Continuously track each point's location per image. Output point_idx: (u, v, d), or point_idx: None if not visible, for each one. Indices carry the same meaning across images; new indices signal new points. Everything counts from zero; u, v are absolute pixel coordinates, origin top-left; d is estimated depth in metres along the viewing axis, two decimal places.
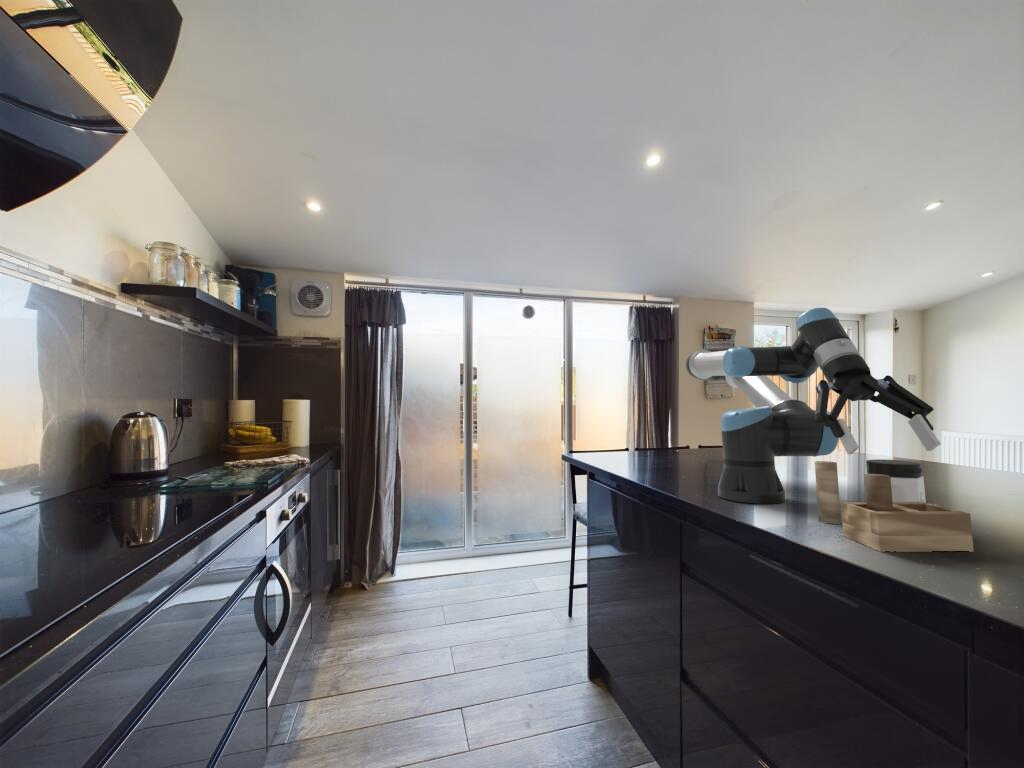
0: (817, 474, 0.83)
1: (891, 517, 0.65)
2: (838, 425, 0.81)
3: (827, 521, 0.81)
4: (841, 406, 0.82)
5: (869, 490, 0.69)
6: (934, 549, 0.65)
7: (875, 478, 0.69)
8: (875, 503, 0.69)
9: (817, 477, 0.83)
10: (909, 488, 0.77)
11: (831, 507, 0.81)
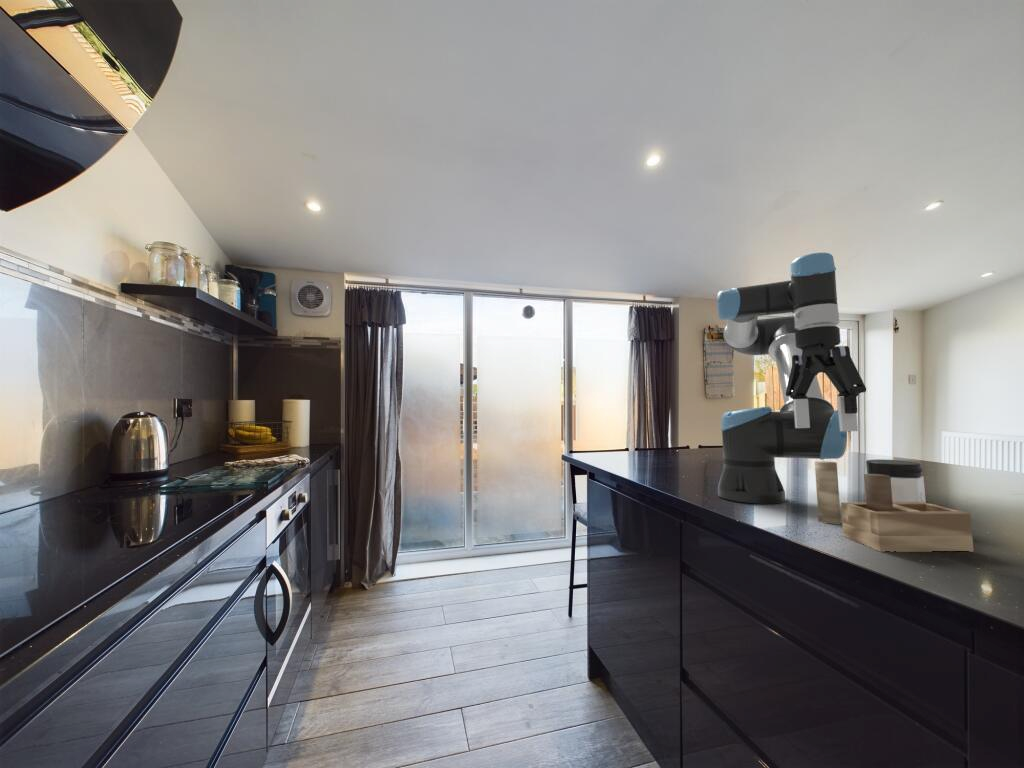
0: (817, 474, 0.83)
1: (891, 517, 0.65)
2: None
3: (827, 521, 0.81)
4: (797, 385, 0.90)
5: (869, 490, 0.69)
6: (934, 549, 0.65)
7: (875, 478, 0.69)
8: (875, 503, 0.69)
9: (817, 477, 0.83)
10: (909, 488, 0.77)
11: (831, 507, 0.81)
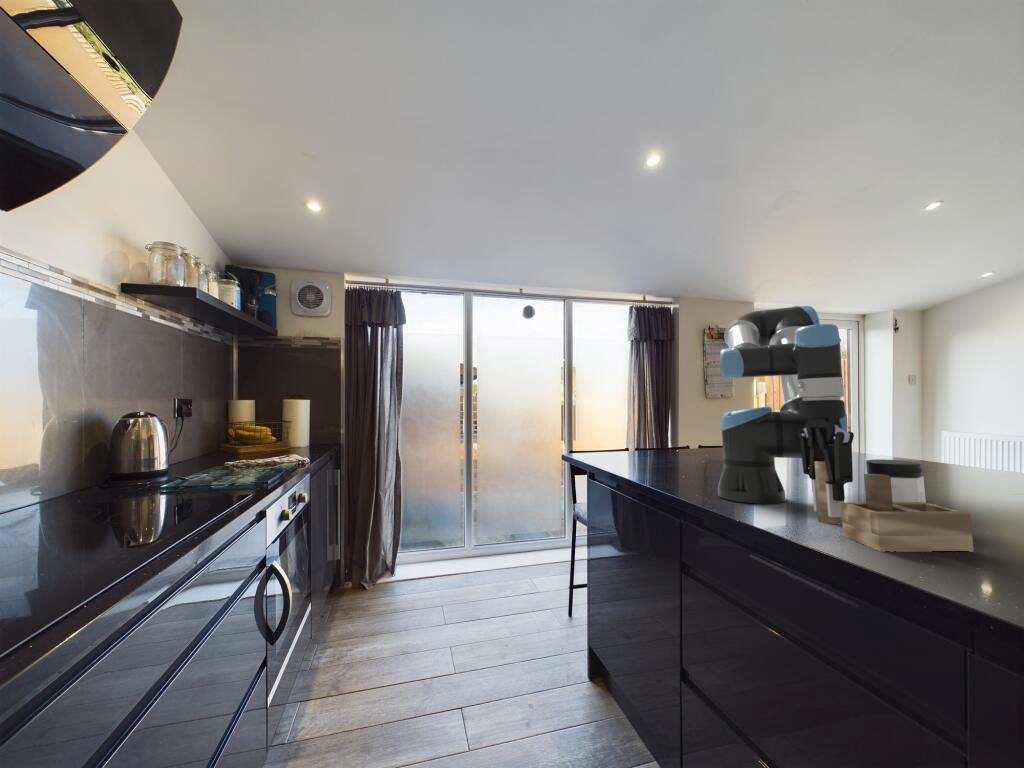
0: (817, 474, 0.83)
1: (891, 517, 0.65)
2: None
3: (827, 521, 0.81)
4: (812, 461, 0.85)
5: (869, 490, 0.69)
6: (934, 549, 0.65)
7: (875, 478, 0.69)
8: (875, 503, 0.69)
9: (817, 477, 0.83)
10: (909, 488, 0.77)
11: None
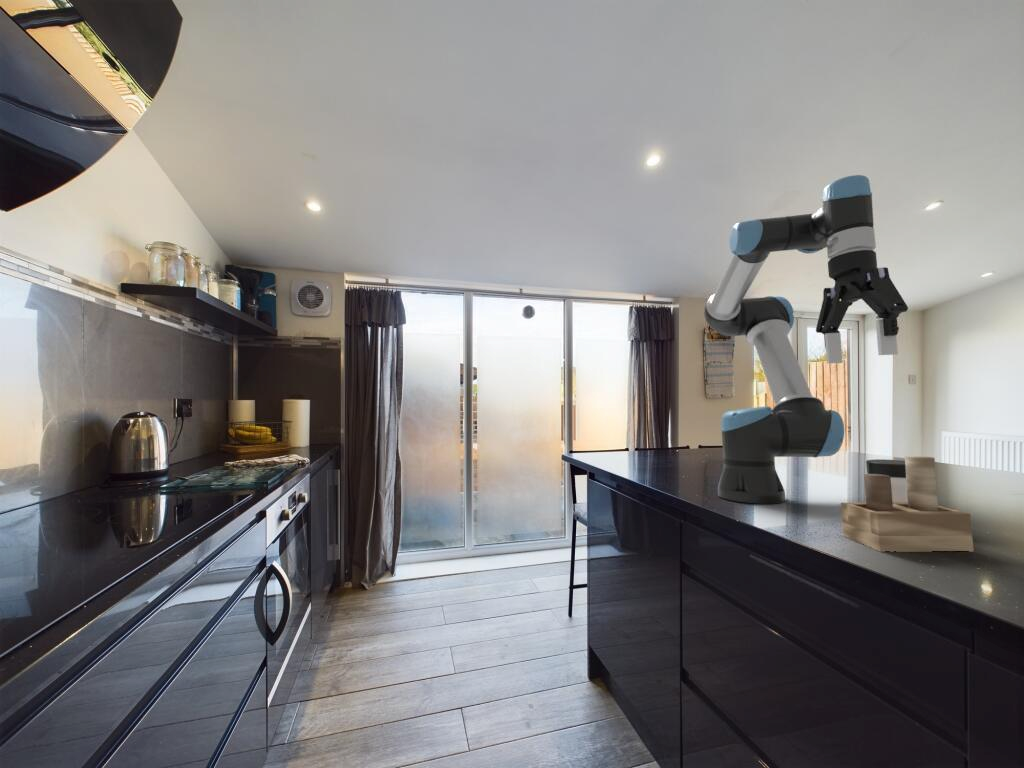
0: (909, 471, 0.69)
1: (891, 517, 0.65)
2: None
3: None
4: (830, 318, 0.87)
5: (869, 490, 0.69)
6: (934, 549, 0.65)
7: (875, 478, 0.69)
8: (875, 503, 0.69)
9: (909, 475, 0.69)
10: None
11: None
